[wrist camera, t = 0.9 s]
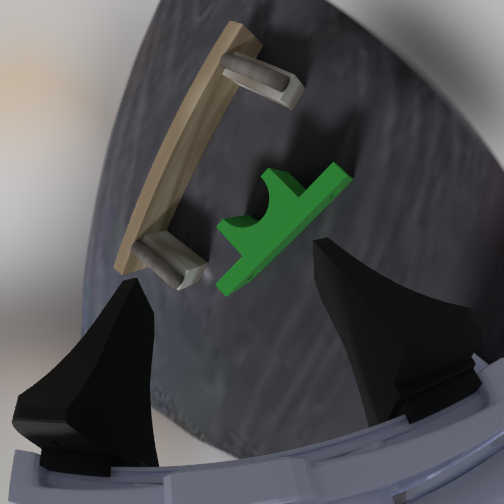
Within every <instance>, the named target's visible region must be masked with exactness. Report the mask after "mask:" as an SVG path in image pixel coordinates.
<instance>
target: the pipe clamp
mask: <svg viewBox="0 0 504 504" xmlns="http://www.w3.org/2000/svg"><path fill="white" fill-rule="evenodd" d="M261 178H262V179H263V180H264V181H265V183H266V185H267V187H268V191H269V206H268V209H267V212H266V214H265V215H264V217H263V218H262V219H261V220H260V221H258V220H256V219H254V218H253V217H252V216H250V215H244V216H238V217H232V218H226V219H223V220H222V221H221V222H220V223H219V224H218V226H217V228H218V229H219V230H220V231H221V233H222V234H223V235H224V236H225V237H226V238H227V239H228V240H229V242H230V243H231V244H232V245H233V246H234V247H235V248H236V249H237V250H238V252H239V253H240V254H241V255H242V257H241V258H240V259H239V260H238V261H237V262H236V263H235V264H234V266H233V267H232V268H231V269H230V270H229V271H228V272H227V273H226V274H225V275H224V276H223V277H222V278H221V279H220V280H219V281H218V282H217V283H216V284H215V285H216V286H217V287H218V288H219V290H220V291H221V292H222V293H223V294H224V295H225V297H227V296H228V295H230V294H231V293H233V292H234V291H236V290H238V289H239V288H241V287H242V286H244V285H245V284H247V283H248V282H250V281H251V280H252V279H253V278H254V277H255V276H256V275H257V274H259V273H260V272H261V271H262V270H263V269H264V268H265V267H266V266H267V265H268V264H269V263H270V262H271V261H272V260H273V259H274V258H275V257H276V256H277V255H278V254H279V253H280V252H281V251H282V250H283V249H284V248H285V247H286V246H287V245H288V244H289V243H290V242H291V241H292V240H293V239H294V238H295V237H296V236H297V235H298V234H299V233H300V232H301V231H302V230H303V229H304V228H305V227H306V226H307V225H308V224H309V223H310V222H311V221H312V220H313V219H314V218H315V217H316V216H317V215H318V214H319V213H320V212H321V211H322V210H323V209H324V208H325V207H326V206H327V205H328V204H329V203H330V202H331V201H332V200H333V199H334V198H335V197H336V196H337V195H338V194H339V193H340V192H341V191H342V190H343V189H344V188H345V187H346V186H347V185H348V184H349V183H350V182H351V181H352V180H353V179H352V178H351V177H350V176H349V175H348V174H347V173H346V172H345V171H344V170H343V169H342V168H341V167H340V166H339V165H337V164H336V163H334V162H333V163H332V164H331V165H330V166H329V167H328V168H327V169H326V170H325V171H324V172H323V173H322V174H321V175H320V176H319V177H318V178H317V179H316V180H315V181H314V182H313V184H312V185H311V186H310V187H309V188H308V189H307V190H306V189H305V188H304V187H303V186H302V185H301V184H300V183H299V182H298V181H297V180H296V179H295V178H294V177H293V176H292V175H291V174H290V173H289V172H285V171H281V170H277V169H272V168H268V169H267V170H266V171H265V172H264V173H263V174H262V176H261Z"/></svg>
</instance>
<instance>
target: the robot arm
mask: <svg viewBox="0 0 504 504" xmlns="http://www.w3.org/2000/svg"><path fill="white" fill-rule="evenodd" d="M313 255H314V279H315V282H316V285H317V288H318V291H319V294H320V297H321V299H322V302H323V304H324V306H325V308H326V310H327V312H328V314H329V316H330V318H331V320H332V322H333V324H334V326H335V328H336V330H337V332H338V334H339V336H340V338H341V340H342V342H343V344H344V347H345V349H346V352H347V354H348V357H349V360H350V363H351V366H352V369H353V372H354V375H355V378H356V382H357V385H358V388H359V391H360V395H361V398H362V402H363V406H364V409H365V413H366V417H367V421H368V425H369V428H367V429H364V430H361V431H358V432H355V433H352V434H348V435H345V436H342V437H339V438H335V439H332V440H328V441H325V442H321V443H317V444H313V445H309V446H305V447H301V448H297V449H293V450H288V451H283V452H279V453H274V454H269V455H263V456H258V457H252V458H246V459H239V460H232V461H226V462H218V463H209V464H198V465H186V466H170V467H169V466H168V467H159V463H158V458H157V453H156V448H155V441H154V434H153V427H152V417H151V402H150V375H151V364H152V354H153V344H154V312H153V310H152V308H151V306H150V304H149V302H148V300H147V298H146V296H145V294H144V292H143V290H142V288H141V286H140V283H139V281H138V279H137V278H133V279H129V280H124V281H123V282H122V283H121V285H120V286H119V287H118V289H117V290H116V292H115V293H114V295H113V296H112V297H111V299H110V300H109V302H108V303H107V305H106V306H105V308H104V309H103V311H102V312H101V313H100V315H99V316H98V318H97V319H96V320H95V322H94V323H93V324H92V326H91V327H90V329H89V330H88V331H87V333H86V334H85V335H84V336H83V338H82V339H81V340H80V341H79V342H78V344H77V345H76V346H75V347H74V348H73V349H72V350H71V352H70V353H69V354H68V355H67V356H66V357H65V358H64V359H63V360H62V361H61V362H60V363H59V364H58V365H57V366H56V367H55V368H54V369H52V370H51V371H50V372H49V373H48V374H47V375H46V376H44V377H43V378H42V379H41V380H40V381H38V382H37V383H36V384H34V385H33V386H32V387H30V388H29V389H27V390H26V391H25V392H23V393H22V394H20V395H19V396H18V400H17V404H16V407H15V411H14V415H13V420H12V424H13V426H14V428H15V429H16V430H17V431H18V432H19V433H20V434H21V435H23V436H24V437H25V438H27V439H28V440H30V441H31V442H32V443H34V444H36V445H37V446H38V447H40V448H41V449H42V451H41V455H39V454H36V453H33V452H28V451H22V450H15V454H14V460H13V466H12V473H11V480H10V488H9V498H8V500H9V502H10V503H12V504H394V501H393V498H392V496H394V495H396V494H398V493H401V492H403V491H405V490H407V496H406V503H404V504H504V358H500V359H499V360H497V361H495V362H494V363H492V364H490V365H489V364H487V363H486V362H485V361H484V360H482V359H481V358H480V357H479V356H478V355H476V354H475V353H474V352H475V350H476V348H477V346H478V345H479V343H480V341H481V339H482V336H483V331H484V328H483V325H482V324H481V322H480V321H479V320H478V318H477V317H476V316H475V314H474V313H473V312H472V311H471V309H470V308H467V307H463V306H459V305H455V304H450V303H446V302H443V301H440V300H437V299H434V298H430V297H428V296H425V295H422V294H420V293H417V292H415V291H412V290H410V289H408V288H406V287H403V286H401V285H399V284H397V283H395V282H393V281H391V280H389V279H388V278H386V277H384V276H382V275H381V274H379V273H377V272H376V271H374V270H372V269H371V268H369V267H368V266H366V265H365V264H363V263H362V262H360V261H359V260H357V259H356V258H354V257H353V256H352V255H350V254H349V253H348V252H346V251H345V250H343V249H342V248H341V247H339V246H338V245H337V244H335V243H334V242H333V241H331V240H330V239H329V238H323V239H318V240H313Z"/></svg>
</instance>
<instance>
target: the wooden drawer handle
mask: <svg viewBox="0 0 504 504" xmlns="http://www.w3.org/2000/svg"><path fill="white" fill-rule="evenodd" d="M262 47H263V44H262V43H261V42H260V41H259V40H258V39H257V38H256V37H255V36H254V35H253V34H252V33H251V32H250V31H249V30H248V29H247V28H246V27H245V26H244V25H243V24H240V23H237V22H233V21H229V23H228V24H227V26H226V27H225V29H224V31H223V32H222V34H221V35H220V37H219V39H218V40H217V42H216V44H215V45H214V47H213V49H212V50H211V52H210V54H209V55H208V57H207V59H206V61H205V62H204V64H203V66H202V67H201V69H200V71H199V73H198V75H197V76H196V78H195V80H194V82H193V84H192V86H191V87H190V89H189V91H188V93H187V95H186V97H185V99H184V101H183V103H182V104H181V106H180V108H179V110H178V112H177V114H176V116H175V118H174V120H173V122H172V124H171V126H170V129H169V131H168V133H167V135H166V137H165V139H164V141H163V143H162V145H161V148H160V150H159V152H158V154H157V156H156V159H155V161H154V163H153V165H152V168H151V170H150V172H149V175H148V177H147V179H146V182H145V184H144V186H143V189H142V191H141V194H140V196H139V199H138V201H137V204H136V206H135V209H134V211H133V214H132V217H131V219H130V222H129V225H128V227H127V230H126V233H125V235H124V238H123V241H122V244H121V247H120V250H119V252H118V255H117V258H116V261H115V264H114V268H115V269H116V270H117V271H118V272H119V273H120V274H121V275H125V274H128V273H131V272H134V271H137V270H140V269H144V268H147V267H149V268H150V269H152V270H153V271H154V272H155V273H156V274H157V275H158V276H160V277H161V278H162V279H163V280H164V281H165V282H167V283H168V284H169V285H170V286H171V287H173V288H174V289H177V290H181V289H183V288H185V287H188V286H190V285H192V284H194V283H196V282H198V281H199V280H200V278H201V276H202V274H203V272H204V270H205V268H206V266H207V265H208V262H207V261H205V260H204V259H203V258H201V257H200V256H199V255H197V254H196V253H195V252H194V251H192V250H191V249H190V248H188V247H187V246H186V245H184V244H183V243H182V242H181V241H179V240H178V239H177V238H176V237H174V236H173V235H172V234H170V233H169V232H168V231H167V228H168V226H169V224H170V222H171V219H172V217H173V215H174V213H175V211H176V208H177V206H178V204H179V202H180V200H181V198H182V196H183V193H184V191H185V189H186V187H187V185H188V183H189V181H190V179H191V177H192V175H193V173H194V171H195V169H196V167H197V165H198V163H199V161H200V159H201V157H202V155H203V153H204V151H205V149H206V147H207V145H208V143H209V141H210V139H211V137H212V135H213V133H214V131H215V129H216V128H217V126H218V124H219V122H220V120H221V118H222V116H223V115H224V113H225V111H226V109H227V107H228V105H229V104H230V102H231V100H232V98H233V96H234V95H235V93H236V91H237V89H238V88H239V86H242V87H244V88H247V89H249V90H251V91H253V92H255V93H258V94H260V95H262V96H264V97H266V98H268V99H270V100H273V101H275V102H277V103H279V104H281V105H283V106H285V107H287V108H289V109H291V110H293V109H294V107H295V106H296V104H297V102H298V100H299V99H300V97H301V95H302V94H303V92H304V90H305V87H304V86H303V85H302V83H301V82H300V81H299V80H298V78H297V77H296V76H295V75H294V74H292V73H289V72H287V71H285V70H282V69H280V68H277V67H275V66H273V65H270V64H268V63H265V62H263V61H260V60H257V59H256V57H257V55H258V54H259V52H260V51H261V49H262Z"/></svg>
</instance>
